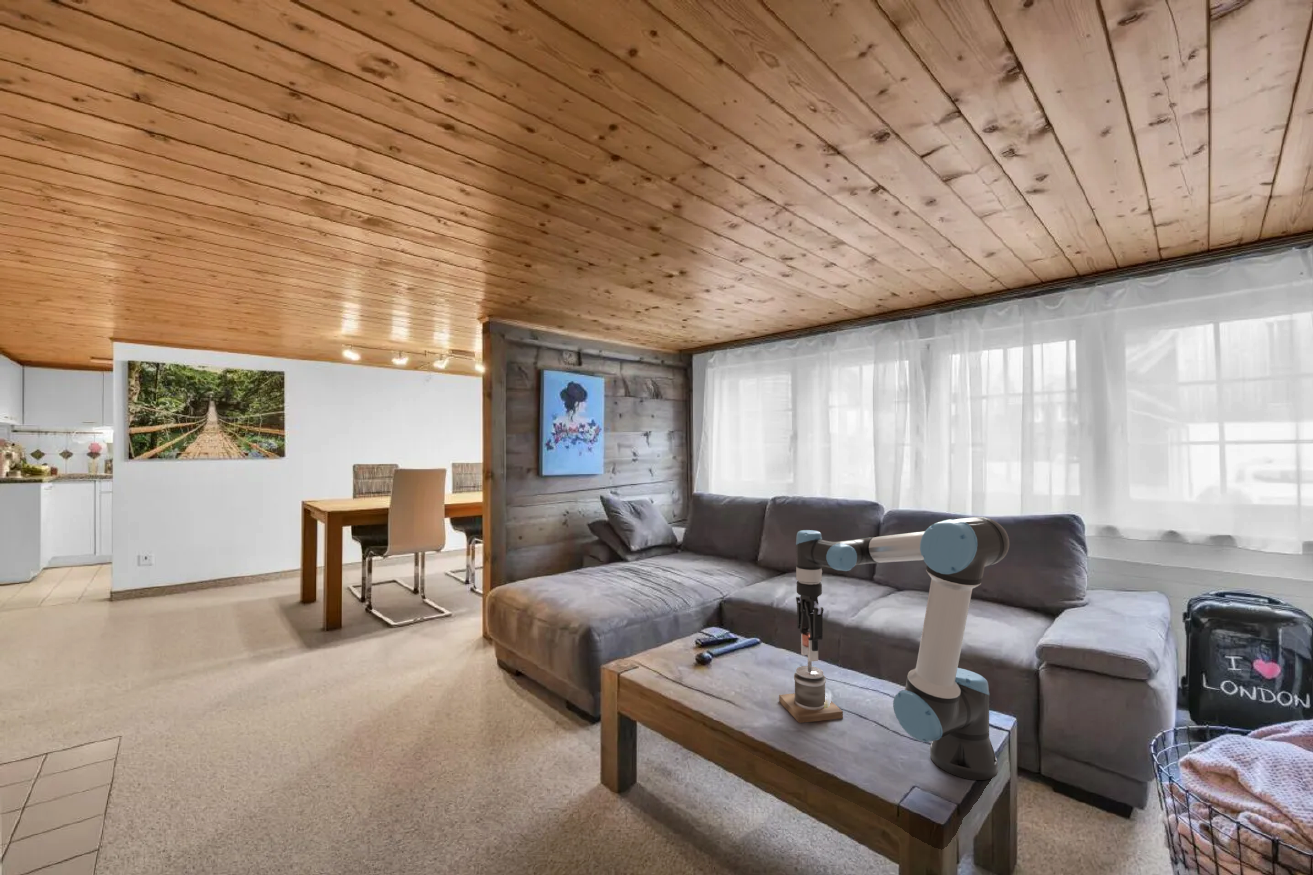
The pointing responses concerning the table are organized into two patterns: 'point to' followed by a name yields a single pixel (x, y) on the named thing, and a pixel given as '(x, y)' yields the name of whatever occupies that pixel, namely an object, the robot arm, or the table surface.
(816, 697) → the stand
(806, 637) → the plunger
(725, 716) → the table surface
